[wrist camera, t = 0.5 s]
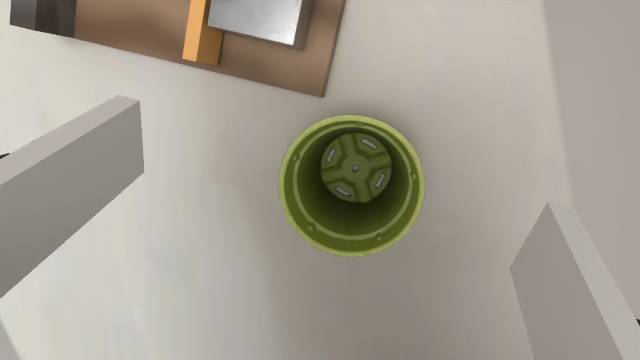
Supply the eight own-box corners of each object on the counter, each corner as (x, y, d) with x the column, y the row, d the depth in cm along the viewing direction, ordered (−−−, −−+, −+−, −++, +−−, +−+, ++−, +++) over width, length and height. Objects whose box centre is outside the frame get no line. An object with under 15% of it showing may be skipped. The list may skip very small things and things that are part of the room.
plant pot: (329, 91, 34) (313, 89, 26) (433, 140, 34) (452, 154, 26) (284, 190, 37) (256, 218, 28) (382, 238, 36) (383, 280, 28)
